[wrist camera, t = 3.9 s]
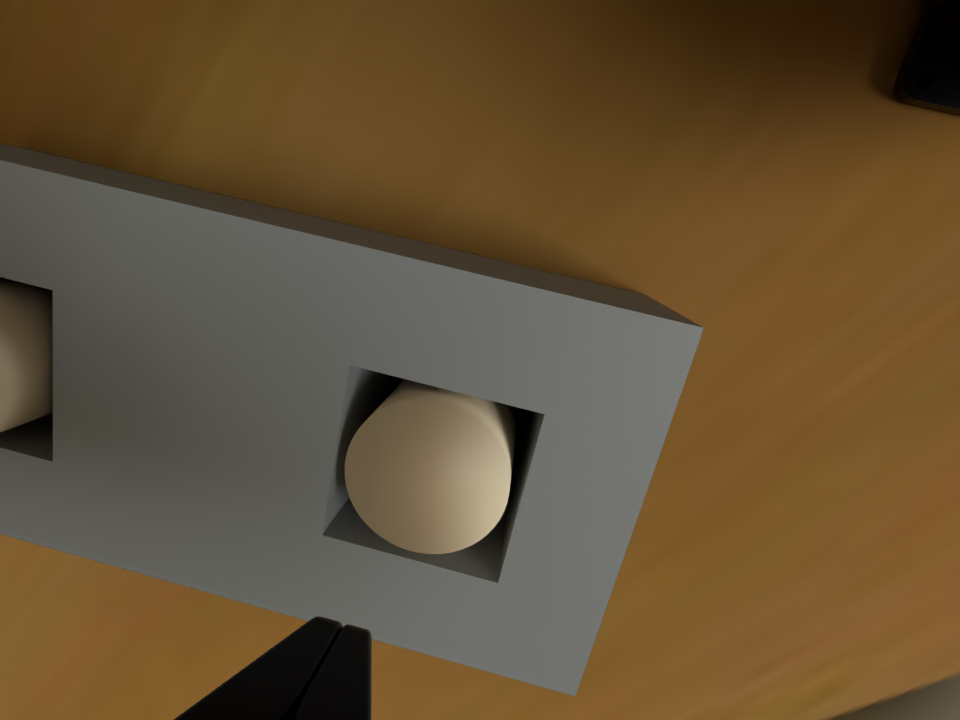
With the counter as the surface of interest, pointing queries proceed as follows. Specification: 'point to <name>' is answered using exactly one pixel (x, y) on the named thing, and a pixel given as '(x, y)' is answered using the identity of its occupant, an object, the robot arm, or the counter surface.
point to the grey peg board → (324, 411)
